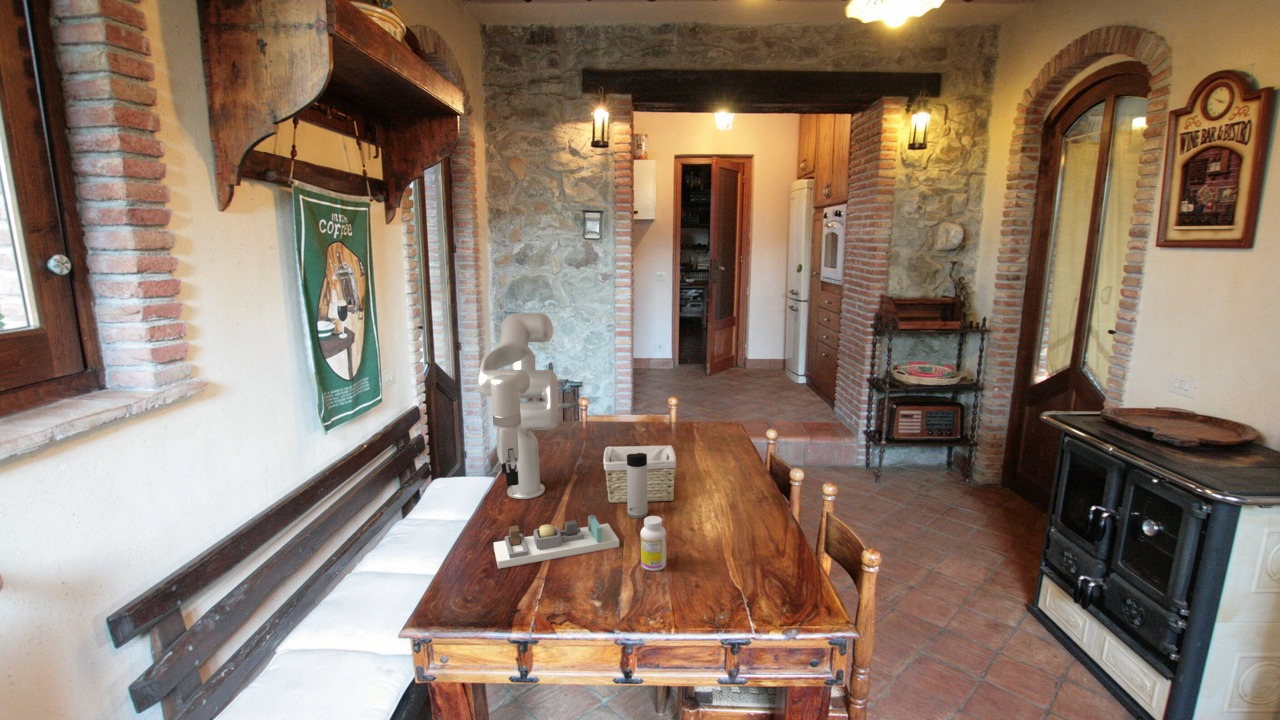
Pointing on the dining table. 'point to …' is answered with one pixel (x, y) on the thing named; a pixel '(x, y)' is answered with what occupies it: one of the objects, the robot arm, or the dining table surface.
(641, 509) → the travel mug
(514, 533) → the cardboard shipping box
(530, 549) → the board
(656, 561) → the supplement bottle
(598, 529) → the teal lever handle
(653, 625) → the dining table surface
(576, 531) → the grey rectangular block
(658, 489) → the storage basket
